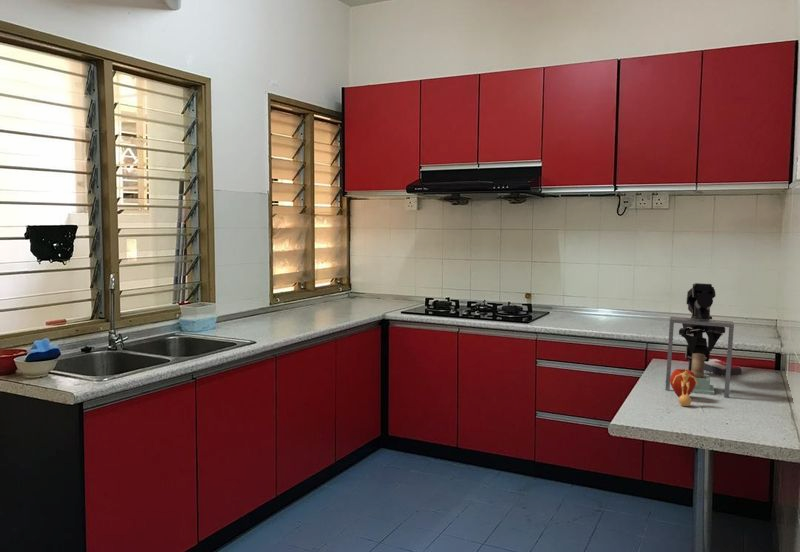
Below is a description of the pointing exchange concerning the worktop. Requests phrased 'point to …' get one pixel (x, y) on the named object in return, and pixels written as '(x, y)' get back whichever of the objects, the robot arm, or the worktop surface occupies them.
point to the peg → (698, 365)
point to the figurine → (683, 399)
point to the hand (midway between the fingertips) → (700, 351)
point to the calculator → (720, 367)
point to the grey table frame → (708, 323)
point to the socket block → (704, 385)
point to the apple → (677, 382)
